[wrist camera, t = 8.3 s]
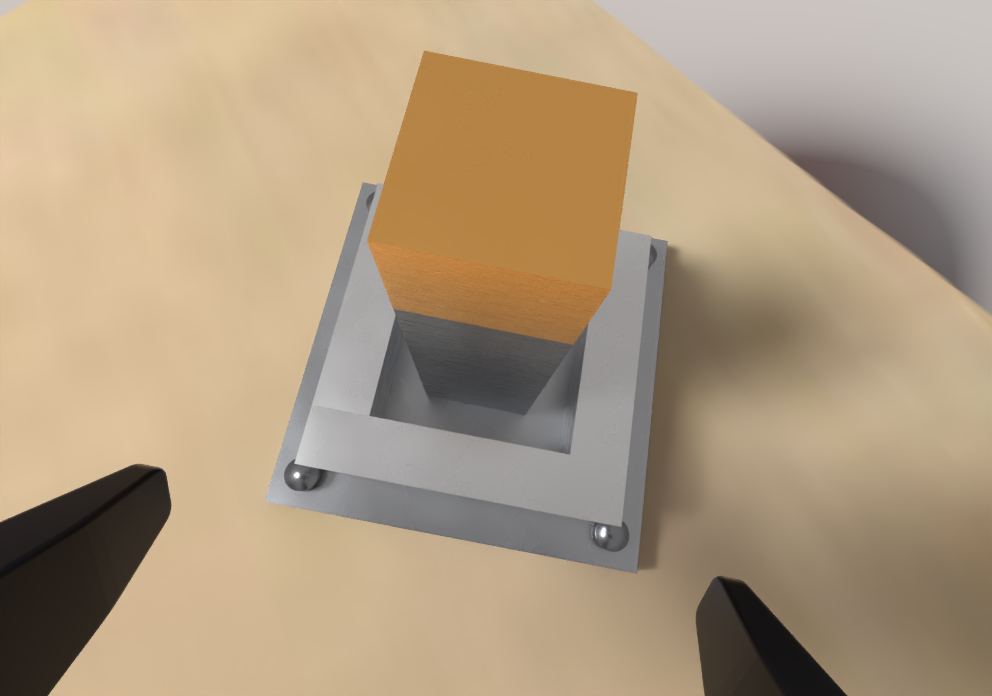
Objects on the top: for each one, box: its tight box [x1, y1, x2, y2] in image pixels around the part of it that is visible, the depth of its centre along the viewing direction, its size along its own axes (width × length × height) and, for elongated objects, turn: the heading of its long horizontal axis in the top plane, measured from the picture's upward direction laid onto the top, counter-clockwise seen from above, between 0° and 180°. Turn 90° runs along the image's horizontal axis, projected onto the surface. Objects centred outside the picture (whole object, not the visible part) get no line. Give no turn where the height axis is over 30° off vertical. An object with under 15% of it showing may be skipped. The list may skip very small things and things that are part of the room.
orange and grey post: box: [367, 51, 637, 415], centre depth 15 cm, size 4×4×12 cm
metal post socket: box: [265, 183, 668, 573], centre depth 20 cm, size 14×14×3 cm
